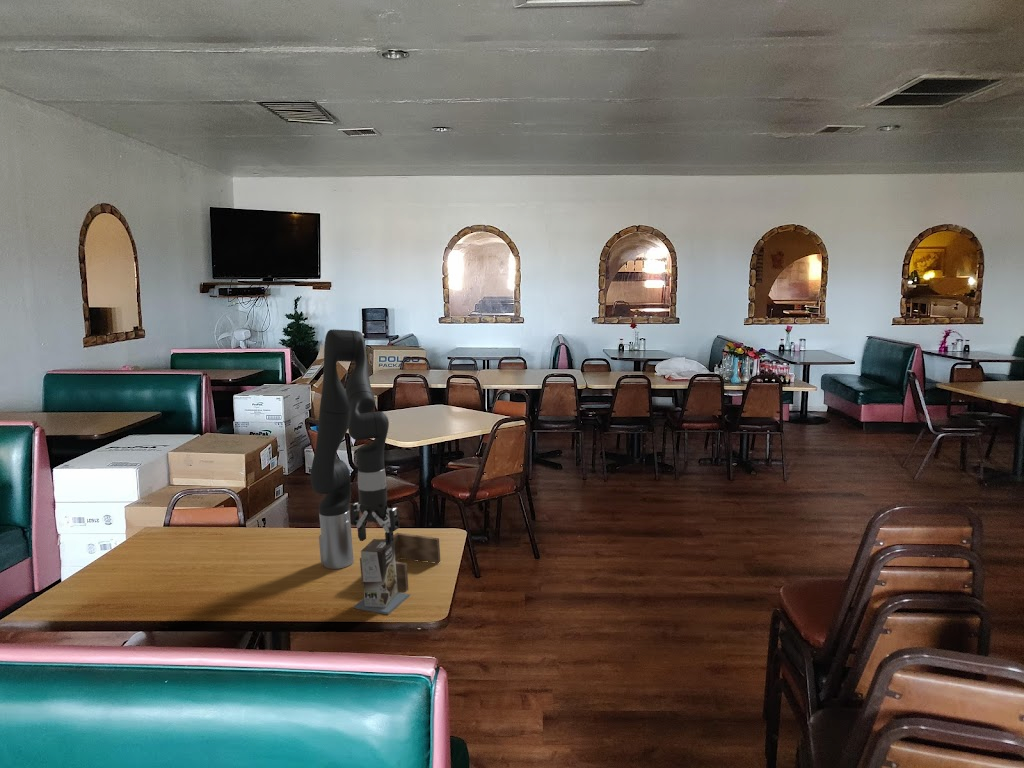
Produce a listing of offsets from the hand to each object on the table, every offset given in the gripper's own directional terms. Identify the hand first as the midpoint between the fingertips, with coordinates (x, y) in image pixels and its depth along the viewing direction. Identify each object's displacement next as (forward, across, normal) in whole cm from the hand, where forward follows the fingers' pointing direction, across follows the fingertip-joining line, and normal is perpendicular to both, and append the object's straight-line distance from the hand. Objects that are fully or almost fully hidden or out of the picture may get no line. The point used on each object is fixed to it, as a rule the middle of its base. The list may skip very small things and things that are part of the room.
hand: (376, 542), depth 189 cm
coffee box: (+17, 0, 0) cm, 17 cm away
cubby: (+18, -4, +18) cm, 26 cm away
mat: (+18, 0, 0) cm, 18 cm away
